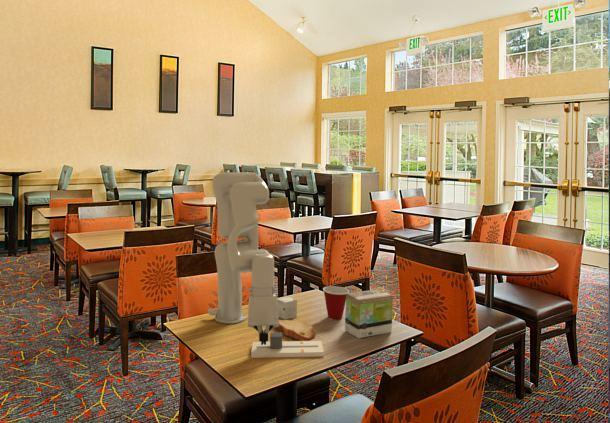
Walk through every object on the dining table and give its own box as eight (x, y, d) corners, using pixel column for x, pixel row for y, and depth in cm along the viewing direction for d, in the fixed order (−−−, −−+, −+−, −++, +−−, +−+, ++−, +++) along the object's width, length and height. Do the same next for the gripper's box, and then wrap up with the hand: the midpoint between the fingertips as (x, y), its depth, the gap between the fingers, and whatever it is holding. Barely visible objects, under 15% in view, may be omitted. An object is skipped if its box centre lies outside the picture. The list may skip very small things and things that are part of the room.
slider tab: (270, 348, 168) (270, 336, 168) (270, 343, 172) (270, 332, 172) (282, 348, 169) (282, 336, 168) (282, 343, 173) (282, 332, 172)
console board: (251, 357, 165) (251, 352, 165) (253, 345, 175) (253, 341, 175) (323, 356, 166) (323, 351, 166) (321, 344, 176) (321, 340, 176)
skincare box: (276, 316, 207) (276, 298, 206) (288, 313, 211) (288, 296, 210) (285, 320, 202) (285, 302, 202) (297, 317, 206) (297, 299, 205)
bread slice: (274, 323, 200) (274, 314, 199) (319, 326, 197) (319, 316, 196) (263, 340, 182) (263, 330, 182) (312, 343, 179) (312, 333, 179)
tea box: (359, 339, 181) (359, 300, 180) (344, 330, 190) (344, 293, 188) (392, 332, 188) (393, 294, 186) (376, 324, 197) (377, 287, 195)
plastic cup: (350, 322, 200) (350, 292, 198) (322, 321, 200) (322, 292, 199) (348, 313, 211) (348, 285, 209) (322, 313, 211) (322, 285, 209)
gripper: (239, 294, 164) (240, 347, 166) (285, 293, 165) (285, 347, 167) (241, 287, 171) (242, 339, 174) (285, 287, 172) (285, 338, 174)
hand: (263, 343), depth 170 cm, fingers closed
